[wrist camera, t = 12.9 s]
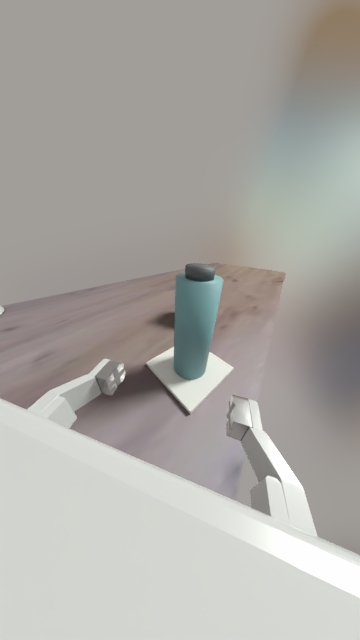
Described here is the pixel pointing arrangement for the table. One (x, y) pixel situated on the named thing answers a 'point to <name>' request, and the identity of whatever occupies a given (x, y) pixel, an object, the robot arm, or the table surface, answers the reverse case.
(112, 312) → the table surface
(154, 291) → the table surface
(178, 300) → the bottle
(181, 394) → the coaster
